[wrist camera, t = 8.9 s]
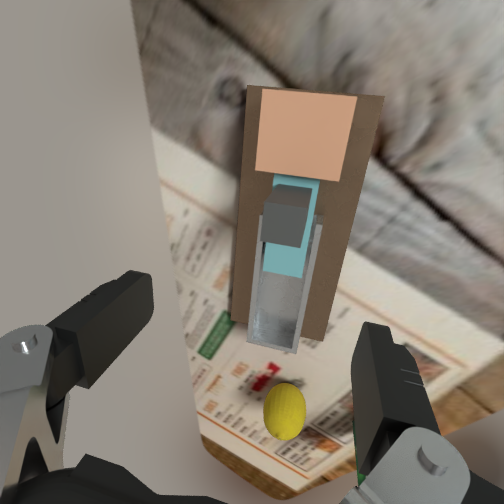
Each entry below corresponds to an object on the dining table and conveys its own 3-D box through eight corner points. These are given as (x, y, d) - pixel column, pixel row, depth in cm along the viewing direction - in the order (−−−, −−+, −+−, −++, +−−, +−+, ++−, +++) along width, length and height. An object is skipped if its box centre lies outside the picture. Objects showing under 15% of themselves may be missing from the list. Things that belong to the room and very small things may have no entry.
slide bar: (285, 121, 27) (264, 122, 18) (330, 126, 26) (330, 129, 18) (268, 258, 33) (246, 306, 24) (304, 265, 32) (294, 316, 24)
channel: (249, 86, 28) (237, 81, 24) (382, 97, 25) (391, 93, 22) (232, 315, 39) (222, 336, 36) (323, 336, 37) (322, 360, 33)
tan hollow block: (273, 93, 26) (262, 88, 22) (352, 100, 25) (357, 96, 21) (266, 162, 29) (255, 170, 25) (337, 172, 28) (338, 181, 24)
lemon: (262, 376, 43) (248, 427, 35) (295, 366, 40) (287, 418, 33) (282, 402, 44) (273, 457, 37) (315, 394, 42) (312, 450, 34)
